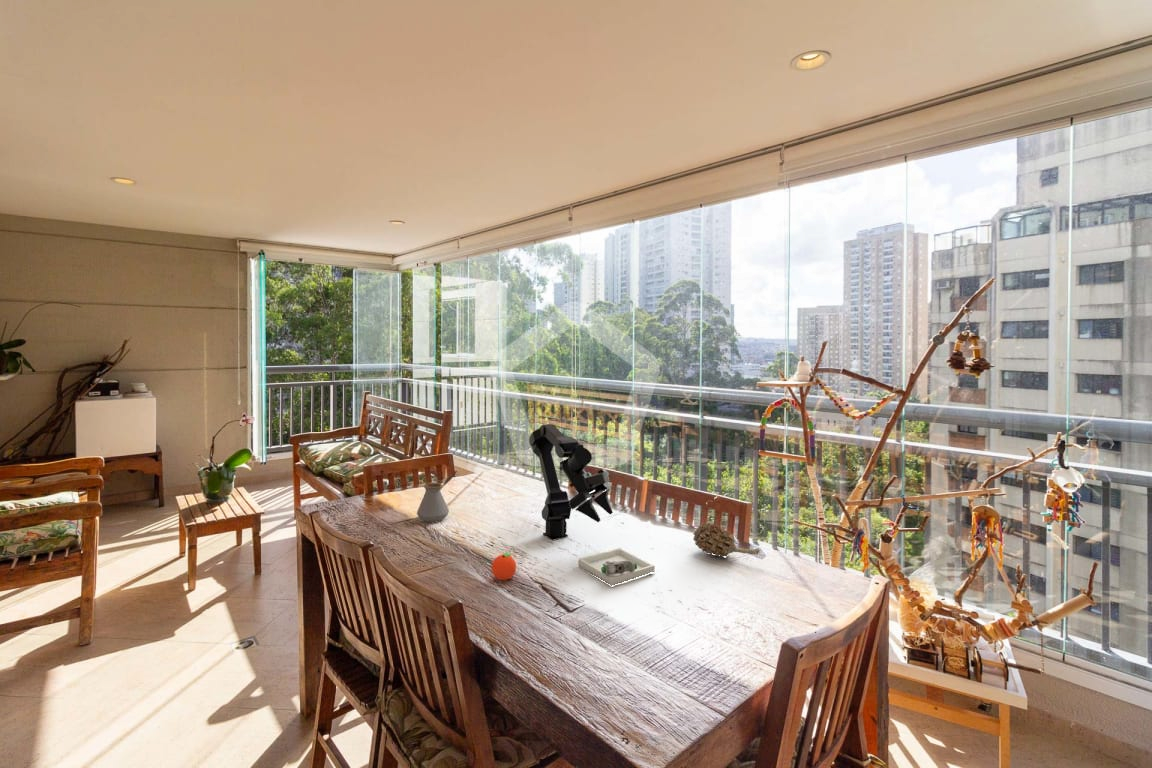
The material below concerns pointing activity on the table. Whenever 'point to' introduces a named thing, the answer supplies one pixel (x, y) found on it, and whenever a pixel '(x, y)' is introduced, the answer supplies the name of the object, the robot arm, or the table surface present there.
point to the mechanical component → (618, 567)
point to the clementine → (503, 567)
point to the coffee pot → (433, 502)
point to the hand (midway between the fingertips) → (605, 517)
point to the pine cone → (717, 540)
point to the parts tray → (617, 555)
